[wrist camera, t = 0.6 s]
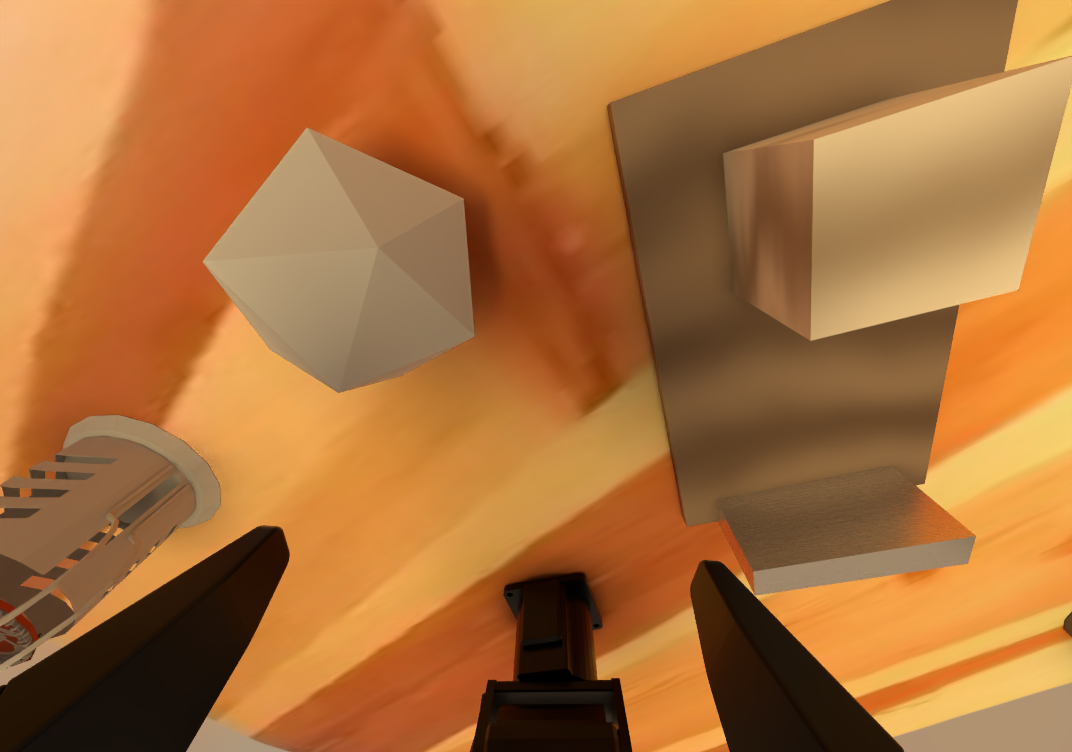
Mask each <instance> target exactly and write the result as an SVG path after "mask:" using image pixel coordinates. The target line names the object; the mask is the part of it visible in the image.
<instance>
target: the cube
mask: <svg viewBox="0 0 1072 752" xmlns="http://www.w3.org/2000/svg"><path fill="white" fill-rule="evenodd" d="M1071 84H1072V56H1069V57H1065V58H1061V59H1057V60H1052V61H1048V62H1044V63H1040V64H1035V65H1031V66H1027V67H1023V68H1018V69H1014V70H1010V71H1006V72H1001V73H997V74H993V75H989V76H984V77H980V78H976V79H972V80H967V81H963V82H959V83H955V84H951V85H946V86H942V87H938V88H934V89H929V90H925V91H921V92H917V93H912V94H908V95H904V96H900V97H895V98H891V99H887V100H883V101H880V102H877V103H874V104H871V105H868V106H865V107H862V108H859V109H856V110H853V111H850V112H847V113H844V114H841V115H838V116H835V117H832V118H829V119H826V120H823V121H820V122H817V123H813V124H810V125H807V126H804V127H801V128H798V129H795V130H792V131H789V132H786V133H783V134H780V135H777V136H774V137H771V138H768V139H765V140H762V141H759V142H756V143H753V144H750V145H747V146H743V147H740V148H737V149H734V150H731V151H728V152H725V153H723V161H724V174H725V187H726V201H727V214H728V227H729V240H730V254H731V267H732V280H733V293H734V294H735V295H737V296H739V297H740V298H742V299H743V300H745V301H747V302H748V303H750V304H752V305H753V306H755V307H756V308H758V309H760V310H761V311H763V312H765V313H766V314H768V315H769V316H771V317H773V318H774V319H776V320H778V321H779V322H781V323H782V324H784V325H786V326H787V327H789V328H790V329H792V330H794V331H795V332H797V333H799V334H800V335H802V336H803V337H805V338H807V339H808V340H810V341H812V340H816V339H820V338H824V337H828V336H833V335H837V334H841V333H845V332H849V331H853V330H857V329H861V328H865V327H869V326H873V325H877V324H882V323H886V322H890V321H894V320H898V319H902V318H906V317H910V316H914V315H918V314H922V313H926V312H931V311H935V310H939V309H943V308H947V307H951V306H955V305H959V304H963V303H967V302H971V301H975V300H980V299H984V298H988V297H992V296H996V295H1000V294H1004V293H1008V292H1012V291H1016V290H1018V289H1019V285H1020V281H1021V277H1022V274H1023V270H1024V266H1025V262H1026V258H1027V254H1028V250H1029V247H1030V243H1031V239H1032V235H1033V231H1034V227H1035V223H1036V220H1037V216H1038V212H1039V208H1040V204H1041V200H1042V196H1043V193H1044V189H1045V185H1046V181H1047V177H1048V173H1049V169H1050V166H1051V162H1052V158H1053V154H1054V150H1055V146H1056V142H1057V139H1058V135H1059V131H1060V127H1061V123H1062V119H1063V115H1064V112H1065V108H1066V104H1067V100H1068V96H1069V92H1070V88H1071Z"/></svg>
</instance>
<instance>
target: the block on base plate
mask: <svg viewBox="0 0 1072 752" xmlns="http://www.w3.org/2000/svg"><path fill="white" fill-rule="evenodd" d="M1017 2H1018V0H891V1H888V2H885V3H883V4H880V5H877V6H875V7H872V8H869V9H866V10H864V11H861V12H858V13H855V14H853V15H850V16H847V17H844V18H842V19H839V20H836V21H833V22H831V23H828V24H825V25H822V26H820V27H817V28H814V29H811V30H809V31H806V32H803V33H801V34H798V35H795V36H792V37H790V38H787V39H784V40H781V41H779V42H776V43H773V44H770V45H768V46H765V47H762V48H759V49H757V50H754V51H751V52H748V53H746V54H743V55H740V56H738V57H735V58H732V59H729V60H727V61H724V62H721V63H718V64H716V65H713V66H710V67H707V68H705V69H702V70H699V71H696V72H694V73H691V74H688V75H685V76H683V77H680V78H677V79H675V80H672V81H669V82H666V83H664V84H661V85H658V86H655V87H653V88H650V89H647V90H644V91H642V92H639V93H636V94H633V95H631V96H628V97H625V98H622V99H620V100H617V101H614V102H611V103H610V104H609V105H608V106H607V107H608V113H609V118H610V124H611V129H612V134H613V140H614V145H615V151H616V156H617V162H618V167H619V172H620V178H621V183H622V189H623V194H624V200H625V205H626V211H627V216H628V221H629V227H630V232H631V238H632V243H633V249H634V254H635V259H636V265H637V270H638V276H639V281H640V287H641V292H642V298H643V303H644V308H645V314H646V319H647V325H648V330H649V336H650V341H651V347H652V352H653V357H654V363H655V368H656V374H657V379H658V385H659V390H660V395H661V401H662V406H663V412H664V417H665V423H666V428H667V434H668V439H669V444H670V450H671V455H672V461H673V466H674V472H675V477H676V482H677V488H678V493H679V499H680V504H681V510H682V515H683V519H684V521H685V524H686V526H687V527H688V526H694V525H699V524H705V523H710V522H716V521H718V522H719V524H720V526H721V528H722V530H723V532H724V534H725V536H726V538H727V540H728V542H729V544H730V546H731V548H732V550H733V552H734V554H735V556H736V558H737V560H738V562H739V564H740V566H741V568H742V570H743V572H744V574H745V576H746V578H747V580H748V582H749V584H750V586H751V588H752V591H753V593H754V595H762V594H768V593H775V592H782V591H788V590H795V589H802V588H808V587H815V586H822V585H828V584H835V583H842V582H848V581H855V580H862V579H868V578H875V577H882V576H888V575H895V574H902V573H908V572H915V571H922V570H928V569H935V568H942V567H948V566H955V565H962V564H968V561H969V558H970V555H971V551H972V548H973V544H974V541H975V538H976V536H975V535H974V534H973V533H972V532H971V531H969V530H968V529H967V528H966V527H965V526H963V525H962V524H961V523H960V522H959V521H957V520H956V519H955V518H954V517H953V516H951V515H950V514H949V513H948V512H947V511H945V510H944V509H943V508H942V507H941V506H939V505H938V504H937V503H936V502H935V501H933V500H932V499H931V498H930V497H929V496H927V495H926V494H925V493H924V492H923V491H921V490H920V489H919V488H918V487H917V486H915V485H919V484H925V479H926V474H927V469H928V463H929V458H930V453H931V448H932V443H933V438H934V432H935V427H936V422H937V417H938V412H939V406H940V401H941V396H942V391H943V386H944V381H945V375H946V370H947V365H948V360H949V355H950V349H951V344H952V339H953V334H954V329H955V324H956V318H957V313H958V308H959V305H955V306H951V307H947V308H943V309H939V310H935V311H931V312H926V313H922V314H918V315H914V316H910V317H906V318H902V319H898V320H894V321H890V322H886V323H882V324H877V325H873V326H869V327H865V328H861V329H857V330H853V331H849V332H845V333H841V334H837V335H833V336H828V337H824V338H820V339H816V340H812V341H810V340H808V339H807V338H805V337H803V336H802V335H800V334H799V333H797V332H795V331H794V330H792V329H790V328H789V327H787V326H786V325H784V324H782V323H781V322H779V321H778V320H776V319H774V318H773V317H771V316H769V315H768V314H766V313H765V312H763V311H761V310H760V309H758V308H756V307H755V306H753V305H752V304H750V303H748V302H747V301H745V300H743V299H742V298H740V297H739V296H737V295H735V294H734V293H733V280H732V267H731V254H730V240H729V227H728V214H727V201H726V187H725V174H724V161H723V153H725V152H728V151H731V150H734V149H737V148H740V147H743V146H747V145H750V144H753V143H756V142H759V141H762V140H765V139H768V138H771V137H774V136H777V135H780V134H783V133H786V132H789V131H792V130H795V129H798V128H801V127H804V126H807V125H810V124H813V123H817V122H820V121H823V120H826V119H829V118H832V117H835V116H838V115H841V114H844V113H847V112H850V111H853V110H856V109H859V108H862V107H865V106H868V105H871V104H874V103H877V102H880V101H883V100H887V99H891V98H895V97H900V96H904V95H908V94H912V93H917V92H921V91H925V90H929V89H934V88H938V87H942V86H946V85H951V84H955V83H959V82H963V81H967V80H972V79H976V78H980V77H984V76H989V75H993V74H997V73H1001V72H1004V70H1005V65H1006V59H1007V54H1008V49H1009V44H1010V39H1011V33H1012V28H1013V23H1014V18H1015V13H1016V8H1017Z"/></svg>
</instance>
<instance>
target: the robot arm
mask: <svg viewBox="0 0 1072 752" xmlns="http://www.w3.org/2000/svg"><path fill="white" fill-rule="evenodd" d="M289 557H290V553H289V548H288V545H287V542H286V538H285V535H284V532H283V529H282V528H280V527H278V526H266V525H264V526H259V527H256V528H255V529H253V530H251V531H250V532H248V533H247V534H245V535H243V536H242V537H240V538H238V539H237V540H235V541H234V542H232V543H230V544H229V545H227V546H226V547H224V548H222V549H221V550H219V551H218V552H216V553H214V554H213V555H211V556H209V557H208V558H206V559H205V560H203V561H201V562H200V563H198V564H197V565H195V566H193V567H192V568H190V569H189V570H187V571H185V572H184V573H182V574H180V575H179V576H177V577H176V578H174V579H172V580H171V581H169V582H168V583H166V584H164V585H163V586H161V587H160V588H158V589H156V590H155V591H153V592H151V593H150V594H148V595H147V596H145V597H143V598H142V599H140V600H139V601H137V602H135V603H134V604H132V605H130V606H129V607H127V608H126V609H124V610H122V611H121V612H119V613H118V614H116V615H114V616H113V617H111V618H110V619H108V620H106V621H105V622H103V623H101V624H100V625H98V626H97V627H95V628H93V629H92V630H90V631H89V632H87V633H85V634H84V635H82V636H81V637H79V638H77V639H76V640H74V641H72V642H71V643H69V644H68V645H66V646H64V647H63V648H61V649H60V650H58V651H56V652H55V653H53V654H52V655H50V656H48V657H47V658H45V659H44V660H42V661H40V662H39V663H37V664H36V665H34V666H32V667H31V668H29V669H27V670H26V671H24V672H23V673H21V674H19V675H18V676H16V677H14V678H13V679H11V680H10V681H9V682H8V684H7V685H2V686H0V752H186V751H187V749H188V747H189V745H190V744H191V742H192V741H193V739H194V737H195V736H196V734H197V732H198V730H199V729H200V727H201V725H202V723H203V722H204V720H205V719H206V717H207V715H208V713H209V712H210V710H211V708H212V707H213V705H214V703H215V701H216V700H217V698H218V696H219V695H220V693H221V691H222V690H223V688H224V686H225V684H226V683H227V681H228V679H229V678H230V676H231V674H232V673H233V671H234V669H235V667H236V666H237V664H238V662H239V661H240V659H241V657H242V656H243V654H244V652H245V650H246V649H247V647H248V645H249V643H250V641H251V639H252V638H253V636H254V634H255V632H256V630H257V628H258V626H259V623H260V621H261V619H262V617H263V615H264V613H265V611H266V609H267V607H268V605H269V602H270V600H271V598H272V596H273V594H274V592H275V590H276V588H277V586H278V583H279V581H280V579H281V577H282V575H283V573H284V571H285V569H286V567H287V564H288V561H289ZM690 593H691V599H692V604H693V609H694V614H695V619H696V624H697V629H698V634H699V639H700V644H701V649H702V654H703V659H704V663H705V668H706V672H707V677H708V680H709V684H710V687H711V691H712V694H713V698H714V701H715V704H716V708H717V711H718V714H719V718H720V721H721V724H722V728H723V731H724V734H725V737H726V741H727V744H728V747H729V751H730V752H904V750H903V748H902V747H901V746H900V745H899V744H898V743H897V742H896V741H895V740H894V739H893V738H892V736H891V735H890V734H889V733H888V732H887V731H886V730H885V729H884V728H883V727H882V726H881V725H880V724H879V723H878V722H877V721H876V720H875V719H874V718H873V717H872V716H871V715H870V714H869V713H868V712H867V711H866V710H865V709H864V708H863V707H862V706H861V705H860V704H859V703H858V702H857V701H856V700H855V698H854V697H853V696H852V695H851V694H850V693H849V692H848V691H847V690H846V689H845V688H844V687H843V686H842V685H841V684H840V683H839V682H838V681H837V680H836V679H835V678H834V677H833V676H832V675H831V674H830V673H829V672H828V671H827V670H826V669H825V668H824V667H823V666H822V665H821V664H820V663H819V662H818V660H817V659H816V658H815V657H814V656H813V655H812V654H811V653H810V652H809V651H808V650H807V649H806V648H805V647H804V646H803V645H802V644H801V643H800V642H799V641H798V640H797V639H796V638H795V637H794V636H793V635H792V634H791V633H790V632H789V631H788V630H787V629H786V628H785V627H784V626H783V625H782V624H781V622H780V621H779V620H778V619H777V618H776V617H775V616H774V615H773V614H772V613H771V612H770V611H769V610H768V609H767V608H766V607H765V606H764V605H763V604H762V603H761V602H760V601H759V600H758V599H757V598H756V597H755V596H754V595H753V594H752V593H751V592H750V591H749V590H748V589H747V588H746V587H745V586H744V584H743V583H742V582H741V581H740V580H739V579H738V578H737V577H736V576H735V575H734V574H733V573H732V572H731V571H730V570H729V569H728V568H727V567H726V566H725V565H724V564H723V563H721V562H719V561H709V560H702V561H701V562H700V563H699V565H698V567H697V570H696V572H695V575H694V578H693V580H692V583H691V588H690ZM504 597H505V599H506V601H507V603H508V604H509V606H510V608H511V610H512V612H513V614H514V616H515V617H516V619H517V631H516V645H515V659H514V674H513V681H497V680H488V683H487V688H486V693H484V694H482V699H481V707H480V713H479V718H478V723H477V728H476V732H475V737H474V740H473V743H472V746H471V750H470V752H632V747H631V741H630V735H629V730H628V724H627V718H626V713H625V707H624V701H623V695H622V690H621V684H620V679H619V678H611V680H597V670H596V659H595V649H594V639H593V630H596V629H600V628H602V619H601V616H600V614H599V611H598V608H597V606H596V603H595V600H594V598H593V595H592V592H591V590H590V587H589V584H588V582H587V579H586V577H585V575H583V574H575V575H569V576H563V577H558V578H552V579H546V580H540V581H534V582H528V583H522V584H517V585H511V586H506V587H505V588H504Z"/></svg>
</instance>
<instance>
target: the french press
mask: <svg viewBox="0 0 1072 752" xmlns="http://www.w3.org/2000/svg"><path fill="white" fill-rule="evenodd" d="M45 471H56V479H45ZM29 472H30V477H31V478H23V477H17V476H13V477H12V478H10V479H9V480H7V481H6V482H4V483H3V484H1V485H0V486H1V487H2V489H3V493H4V497H0V508H4V511H5V512H4V513H2V514H0V672H1V671H3V670H4V669H6V668H8V667H9V666H14V665H17V664H20V663H23V662H25V661H28V660H31V657H32V656H33V654H34V652H35V650H36V648H37V647H38V646H40V645H41V644H42V643H44V642H45V641H47V640H48V639H49V638H54V637H57V636H60V635H63V634H65V633H67V632H68V631H69V630H70V629H71V628H72V627H73V626H74V625H75V624H76V623H77V622H79V621H80V620H81V619H82V618H83V617H84V616H85V615H86V614H87V613H88V612H89V611H90V610H91V609H93V608H94V607H95V606H96V605H97V604H98V603H99V602H100V601H101V600H102V599H103V598H104V597H105V596H106V595H107V594H108V593H109V592H110V591H111V590H113V589H114V588H115V587H116V586H117V585H118V584H119V583H120V582H121V581H122V580H123V579H124V578H126V577H127V576H128V575H129V574H130V573H131V572H132V571H133V570H134V569H135V568H136V567H137V566H138V565H139V564H140V563H141V562H143V561H144V560H145V559H146V558H147V557H148V556H149V555H150V554H151V553H152V552H153V551H154V550H155V549H156V548H157V547H158V546H159V545H161V544H162V543H163V542H164V541H165V540H166V539H167V538H168V537H169V536H170V535H171V534H172V533H173V532H174V531H175V530H176V529H177V528H185V527H192V526H195V525H197V524H200V523H202V522H205V521H207V520H209V519H211V518H212V516H213V515H214V514H215V512H216V511H217V509H218V508H219V506H220V505H221V501H220V485H219V483H218V481H217V479H216V478H215V476H214V474H213V472H212V471H211V469H210V467H209V465H208V464H207V462H206V461H205V460H203V459H202V458H201V457H200V456H199V455H198V454H197V453H196V452H195V451H194V450H193V449H192V448H190V447H189V446H188V445H187V444H186V443H185V442H184V441H182V440H180V439H179V438H177V437H175V436H173V435H171V434H170V433H168V432H166V431H164V430H162V429H160V428H159V427H157V426H155V425H153V424H150V423H147V422H143V421H139V420H135V419H132V418H128V417H124V416H121V415H107V416H89V417H87V418H85V419H84V420H82V421H80V422H78V423H76V424H75V425H73V426H71V427H70V429H69V431H68V434H67V437H66V439H65V442H64V445H63V450H62V451H60V452H58V453H56V454H55V462H50V461H42V462H40V463H38V464H37V465H35V466H33V467H31V468H29ZM19 488H31V495H32V496H30V497H20V491H19ZM107 525H110V526H111V528H110V531H109V532H108V533H107V534H106V533H103V532H100V531H101V530H102V529H103V528H105V527H106V526H107ZM117 527H118V528H122V529H124V531H122V532H121V533H120V534H119V535H117V536H116V537H115V536H113V534H114V533H115V531H116V530H117ZM87 541H92V542H96V543H98V544H97V545H96V546H95V547H94V548H93V549H92V550H91V551H88V550H84V549H80V548H79V547H80V546H82V545H83V544H84V543H85V542H87ZM104 545H105V546H104ZM103 546H104V547H103ZM153 546H156V547H155V549H154V550H153V551H152V552H151V553H149V552H150V550H151V549H152V547H153ZM102 547H103V548H102ZM101 548H102V549H101ZM100 549H101V550H100ZM65 558H69V559H73V560H78V562H77V563H76V564H75V565H73V566H72V567H71V568H70V569H65V568H61V567H56V565H57V564H59V563H60V562H61V561H63V560H64V559H65ZM135 563H137V565H136V566H135V568H134V569H133V570H132V571H129V570H130V569H131V567H132V566H133V565H134V564H135ZM32 575H33V576H38V577H44V578H49V579H55V581H54V582H52V583H51V584H50V585H49V586H47V587H46V588H45V589H44V590H39V589H34V588H29V587H24V586H20V585H21V584H22V583H23V582H25V581H26V580H27V579H29V578H30V577H31V576H32ZM114 584H115V585H114ZM113 585H114V586H113ZM112 586H113V588H112V589H111V590H110V591H107V590H108V589H110V588H111V587H112ZM57 587H58V588H59V589H60V590H61V591H62V592H63V594H64V595H65V596H66V597H67V598H68V599H69V600H70V602H71V605H72V607H73V610H74V612H73V611H72V609H71V608H70V607H69V606H68V605H67V603H66V602H64V601H62V600H61V599H59V598H57V597H55V596H53V595H52V594H50V592H52V591H53V590H55V589H56V588H57ZM106 591H107V592H106ZM39 638H40V639H39Z"/></svg>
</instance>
